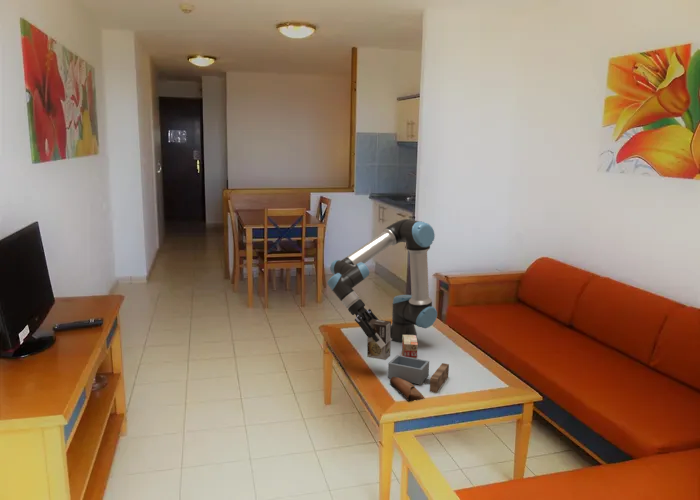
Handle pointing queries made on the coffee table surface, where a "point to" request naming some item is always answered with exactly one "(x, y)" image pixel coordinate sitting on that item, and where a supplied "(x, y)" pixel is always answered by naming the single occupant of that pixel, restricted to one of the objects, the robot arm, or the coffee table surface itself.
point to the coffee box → (385, 334)
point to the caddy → (408, 369)
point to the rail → (427, 381)
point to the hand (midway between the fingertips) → (386, 343)
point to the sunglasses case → (406, 389)
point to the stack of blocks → (409, 346)
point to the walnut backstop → (439, 377)
